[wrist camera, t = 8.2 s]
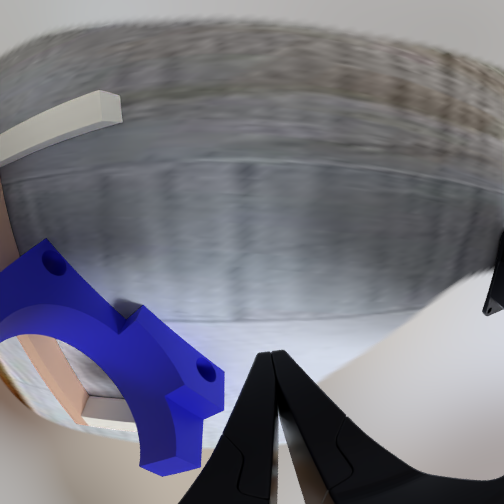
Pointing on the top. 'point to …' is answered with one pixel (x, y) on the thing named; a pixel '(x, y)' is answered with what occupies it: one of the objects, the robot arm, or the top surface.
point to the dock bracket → (5, 252)
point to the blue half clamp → (118, 354)
